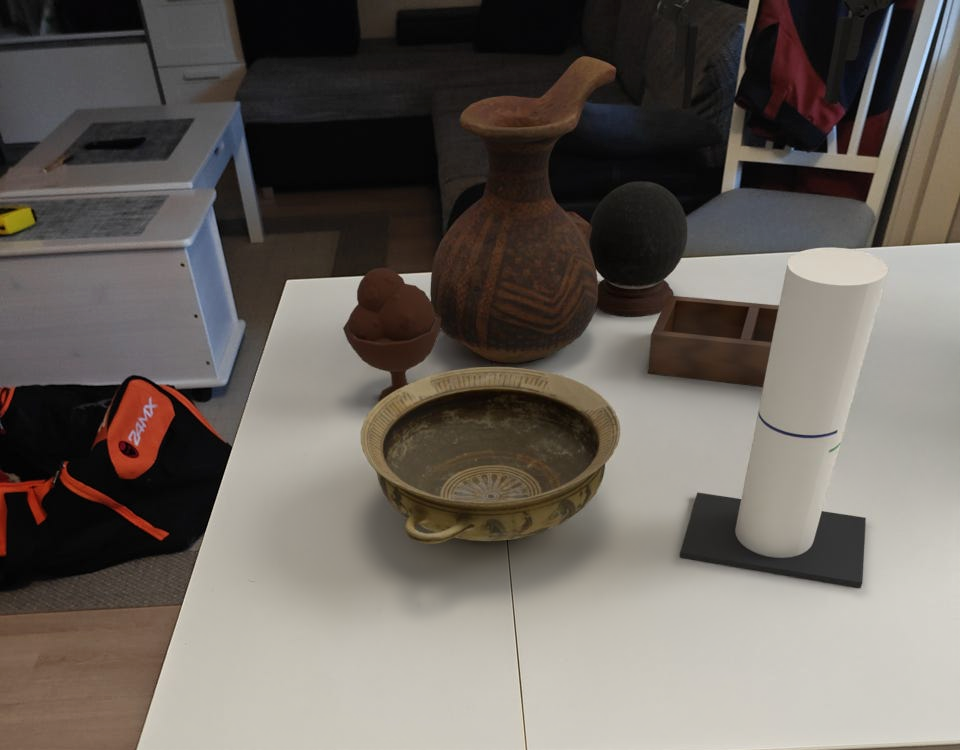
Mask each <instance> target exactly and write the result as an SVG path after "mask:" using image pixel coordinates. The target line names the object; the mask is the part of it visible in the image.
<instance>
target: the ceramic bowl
mask: <svg viewBox="0 0 960 750" xmlns="http://www.w3.org/2000/svg"><path fill="white" fill-rule="evenodd" d="M407 384H408V385H406V386H404V387H402V388H400V389H398V390H396V391H394V392H392V393H391V394H389V395H388V396H386V397H385V398H383V399H382V400H381V401H379V402H378V401H377V403H376V404H375V405H374V406H373V407H372V408H371V409H370V411H369V412H368V413H367V415H366V417H365V419H364V421H363V423H362V427H361V430H360V444H361V448H362V452H363V454H364V456H365V458H366V459H367V462H368V464H370V466H371V468H372V469H373V470H375V472H376V476H377V480H378V484H379V486H380V489H381V492H382V493H383V495H384V496H385V498H386V499H387V501H388V502H389V503H390V504H391V506H392V507H393V508H394V509H395V510H397V511H398V512H399V513H400V514H401V515H402V516H403V517H404V518H406V521H405V524H404V531H405V533H406V535H407V537H409V538H410V540H412V541H415V542H416V543H419V544H424V545H434V544H440V543H444V542H446V541H449V540H452V539H453V538H456V539H461V540H467V541H475V542H476V541H477V542H499V541H507V540H508V541H510V540H517V539H522V538H525V537H528V536H529V537H530V536H533V535H538V534H540V533H543V532H545V531H548V530H550V529H553V528H555V527H557V526H559V525H561V524H564V522H566V521H568V520H569V519H571V518H573V516H575V515H576V514H577V513H580V511H581V510H582V509H583V508H584V507H586V506H587V505H588V504H589V502H591V500H592V499H593V497H594V496H595V495H596V494H597V492H598V490H599V488H600V487H601V484H602V482H603V478H604V475H605V471H606V463H608V461H609V460H610V459H611V458H612V456H613V454H614V453H615V451H616V449H617V448H618V445H619V442H620V437H621V425H620V419H619V417H618V415H617V413H616V411H615V410H614V408H613V407H612V405H611V404H610V403H609V401H608V400H607V399H605V398H604V397H603V396H602V394H600V393H598V392H597V391H596V390H594V389H593V388H591V387H590V386H589V385H587V384H584V383H581V382H579V381H577V380H574V379H572V378H569V377H566V376H563V375H560V374H556V373H552V372H547V371H542V370H536V369H529V368H521V367H511V366H481V367H479V366H478V367H477V366H476V367H468V368H467V367H466V368H460V369H454V370H449V371H445V372H440V373H435V374H432V375H429V376H424V377H422V378H420V379H417V380H415V381H413V382H410V383H407ZM417 526H419V527H421V528H423V529H425V530H428V531H430V532H429V533H427V532H426V533H425V532H421V531H419V530H417V529H416V528H417Z"/></svg>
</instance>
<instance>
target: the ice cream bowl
mask: <svg viewBox="0 0 960 750" xmlns="http://www.w3.org/2000/svg"><path fill="white" fill-rule="evenodd" d="M356 300H357V305H356V306H355V307H354V308H353V309H352V312H351V313H350V314H349V317H348V320H347V321H346V323H345V324H344V326H343V327H342V330H343V332H344V335H345V338H346V340H347V342H348V344H349V345H350V347H351V348H352V349H353V351H354V352H355V353H356V354H357V356H358V357H359V358H360V359H361V361H363V362H365V363H366V364H367V365H369V366H370V367H372V368H375V369H377V370H380V371H384V372H389V374H390V377H391V385H390V386H388V387H386V388H384V389H382V391H381V392H380V394H379V396H378V400H377V403H378V402H379V401H381V400H382V399H383V398H385V397H386V396H388V395H389V394H391V393H392V392H394V391H396V390H398V389H400V388H402V387H404V386H406V385H408V384H409V383H408V382H407V381H408V380H407V374H406V372H407V371H408V370H410V369H412V368H414V367H416V366H417V365H419V364H420V363H423V362H424V360H426V358H427V357H429V355H430V354H431V352H432V350H433V348H434V346H435V344H436V342H437V340H438V337H439V334H440V331H441V328H440V324H441V318H440V317H439V316H438V315H437V314H436V313H435V311H434V307H433V304H432V303H431V299H430V298H429V297H428V295H427V294H426V291H424V290H423V289H421V288H420V287H417V286H416V285H415V284H410V283H405V280H404V278H403V277H402V276H401V275H400V274H398V273H397V272H396V271H394V270H392V269H390V268H387V267H378V268H374V269H372V270H370V271H368V272H367V273H366V274H365V275H364V276H363V277H362V279H361V280H360V282H359V283H358V286H357V290H356Z"/></svg>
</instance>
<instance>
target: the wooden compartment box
mask: <svg viewBox="0 0 960 750" xmlns="http://www.w3.org/2000/svg"><path fill="white" fill-rule="evenodd" d="M778 308H779V304H778V305H777V304H767V303H757V302H745V301H736V300H726V299H725V300H724V299H714V298H713V299H712V298H705V297H703V298H702V297H691V296H680V295H673V296H671V295H668V297H667V300H666V302H665V304H664V306H663V309H662V311H661V312H659V313H660V314H659V315H658V318H657V320H656V322H655V325H654V327H653V329H652V332H651V334H650V341H649V350H648V351H649V353H648V363H647V374H652V375H653V374H654V375H659V376H660V375H661V376H669V377H676V378H685V379H695V380H703V381H712V382H719V383H720V382H721V383H729V384H736V385H738V384H739V385H748V386H755V387H763V385H764V380H765V375H766V370H767V365H768V359H769V354H770V349H771V344H772V339H773V334H774V329H775V324H776V319H777V313H778Z"/></svg>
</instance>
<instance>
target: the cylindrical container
mask: <svg viewBox="0 0 960 750" xmlns="http://www.w3.org/2000/svg"><path fill="white" fill-rule="evenodd" d="M888 274H889V267H888V265H887V263H886V262H885V261H884V260H883V259H881V258H879V257H878V256H876V255H873V254H871V253H868V252H865V251H862V250H858V249H852V248H846V247H815V248H809V249H805V250H801V251H798V252H796V253H794V254H792V255H791V256H790V257H789V258H788V259H787V263H786V268H785V274H784V278H783V282H782V284H783V285H782V289H781V294H780V298H779V304H778V305H779V308H778V313H777V319H776V324H775V329H774V334H773V339H772V344H771V349H770V354H769V359H768V365H767V370H766V375H765V380H764V385H763V386H762V391H761V396H760V401H759V407H758V411H757V416H756V421H755V427H754V432H753V436H752V437H753V438H752V441H751V447H750V452H749V456H748V463H747V467H746V472H745V477H744V483H743V487H742V492H741V498H740V499H741V503H740V508H739V513H738V518H737V524H736V529H735V532H736V536H737V538H738V540H739V541H740V542H741V544H742V545H744V546H745V547H746V548H748V549H749V550H751V551H753V552H755V553H758V554H761V555H764V556H768V557H775V558H786V557H793V556H797V555H800V554H802V553H804V552H806V551H807V550H808V549H809V548H810V547H811V546H812V544H813V541H814V538H815V534H816V530H817V527H818V523H819V519H820V516H821V512H822V511H823V508H824V506H825V505H824V504H825V501H826V498H827V494H828V490H829V487H830V483H831V480H832V475H833V472H834V469H835V465H836V461H837V458H838V454H839V449H840V446H841V443H842V440H843V436H844V433H845V429H846V424H847V422H848V418H849V415H850V411H851V407H852V403H853V400H854V396H855V392H856V389H857V386H858V382H859V378H860V375H861V371H862V367H863V363H864V360H865V358H866V357H865V356H866V353H867V350H868V346H869V342H870V338H871V335H872V331H873V327H874V325H875V320H876V317H877V313H878V310H879V307H880V303H881V299H882V295H883V292H884V288H885V284H886V280H887V277H888Z"/></svg>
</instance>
